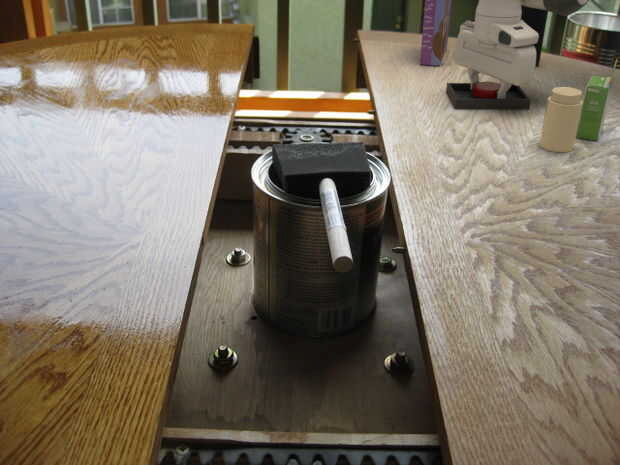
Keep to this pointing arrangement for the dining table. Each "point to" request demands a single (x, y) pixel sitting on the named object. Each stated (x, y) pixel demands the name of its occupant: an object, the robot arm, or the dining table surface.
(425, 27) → the cereal box
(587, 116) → the ink box
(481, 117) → the dining table surface
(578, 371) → the dining table surface
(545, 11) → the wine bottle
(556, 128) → the jar
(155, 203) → the dining table surface
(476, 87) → the jar lid
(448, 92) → the tray
